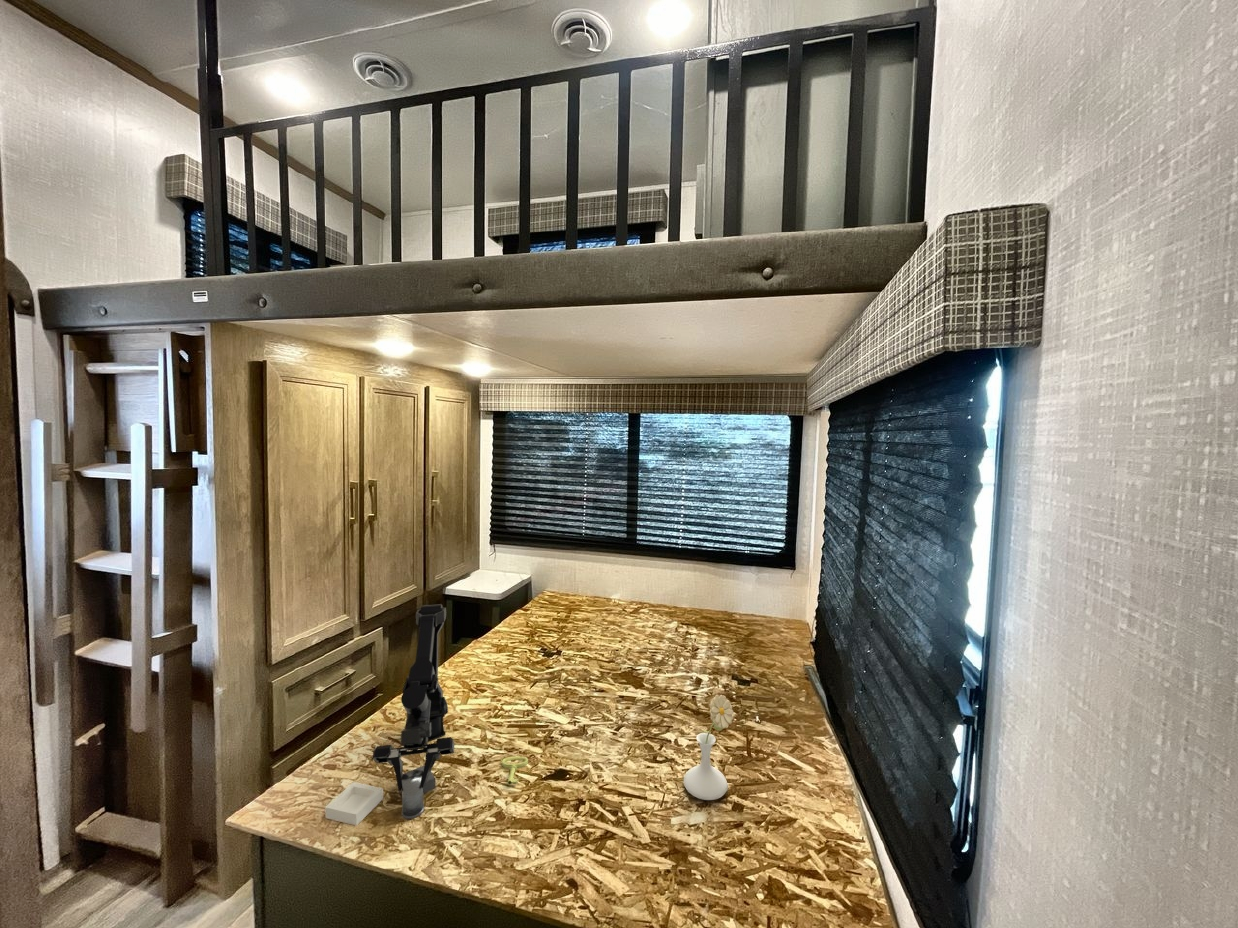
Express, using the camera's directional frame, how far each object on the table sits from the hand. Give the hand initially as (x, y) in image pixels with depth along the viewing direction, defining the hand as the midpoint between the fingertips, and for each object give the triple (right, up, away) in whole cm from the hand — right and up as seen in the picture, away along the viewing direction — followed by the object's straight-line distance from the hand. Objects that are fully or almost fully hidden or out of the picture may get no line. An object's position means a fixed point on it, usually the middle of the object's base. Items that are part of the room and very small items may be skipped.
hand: (411, 789), depth 122 cm
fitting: (0, -6, +2) cm, 7 cm away
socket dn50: (-15, -6, +3) cm, 17 cm away
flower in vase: (+74, -6, +10) cm, 75 cm away
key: (+21, -6, +17) cm, 28 cm away
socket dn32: (-3, -6, +10) cm, 12 cm away
